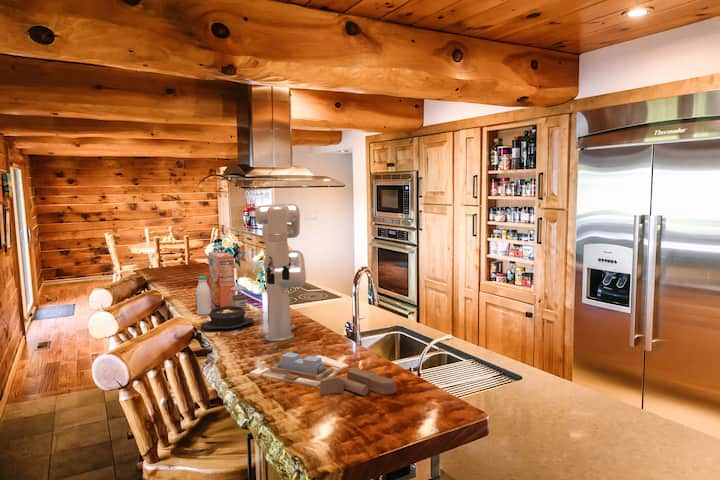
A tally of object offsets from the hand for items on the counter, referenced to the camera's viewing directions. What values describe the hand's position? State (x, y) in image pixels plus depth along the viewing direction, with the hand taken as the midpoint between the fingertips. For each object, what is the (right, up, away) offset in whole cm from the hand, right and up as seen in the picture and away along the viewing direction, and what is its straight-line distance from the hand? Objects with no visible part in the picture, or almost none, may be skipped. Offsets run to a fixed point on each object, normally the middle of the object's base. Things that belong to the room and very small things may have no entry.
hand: (278, 281), depth 191 cm
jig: (+12, -30, -21) cm, 39 cm away
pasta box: (-45, -21, +80) cm, 94 cm away
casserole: (-31, -25, +41) cm, 57 cm away
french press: (-32, -23, +63) cm, 74 cm away
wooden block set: (+31, -32, -38) cm, 59 cm away
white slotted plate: (-3, -31, -19) cm, 36 cm away
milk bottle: (-51, -23, +66) cm, 86 cm away
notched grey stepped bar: (+11, -30, -21) cm, 38 cm away
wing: (+21, -30, -10) cm, 38 cm away
